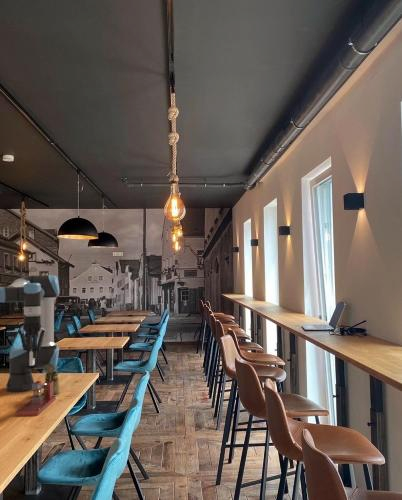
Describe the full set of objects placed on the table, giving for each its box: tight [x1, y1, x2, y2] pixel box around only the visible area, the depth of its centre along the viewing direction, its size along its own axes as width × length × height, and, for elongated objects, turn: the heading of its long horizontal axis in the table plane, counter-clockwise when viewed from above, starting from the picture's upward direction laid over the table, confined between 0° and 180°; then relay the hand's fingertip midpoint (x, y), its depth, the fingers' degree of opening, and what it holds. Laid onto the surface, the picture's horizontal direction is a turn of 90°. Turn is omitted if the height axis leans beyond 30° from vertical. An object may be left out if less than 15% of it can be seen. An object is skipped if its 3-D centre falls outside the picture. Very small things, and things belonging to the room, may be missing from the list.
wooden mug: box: [42, 363, 61, 396], centre depth 232 cm, size 9×14×18 cm, turn 8°
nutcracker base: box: [15, 380, 57, 417], centre depth 210 cm, size 25×10×10 cm, turn 1°
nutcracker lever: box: [22, 383, 46, 391], centre depth 208 cm, size 23×4×2 cm, turn 1°
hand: (32, 364), depth 204 cm, fingers closed
